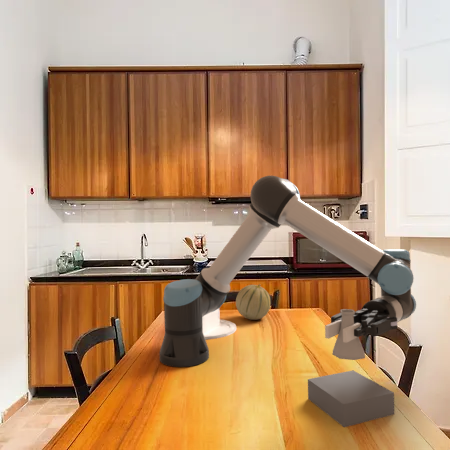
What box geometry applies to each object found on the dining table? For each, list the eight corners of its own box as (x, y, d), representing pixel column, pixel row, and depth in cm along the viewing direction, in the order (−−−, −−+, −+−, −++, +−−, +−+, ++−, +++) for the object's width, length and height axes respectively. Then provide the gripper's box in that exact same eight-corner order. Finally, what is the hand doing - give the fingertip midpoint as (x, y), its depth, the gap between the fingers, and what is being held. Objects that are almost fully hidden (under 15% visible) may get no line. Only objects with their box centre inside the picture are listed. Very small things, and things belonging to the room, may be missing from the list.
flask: (370, 361, 79) (369, 314, 79) (336, 361, 79) (335, 315, 79) (359, 349, 87) (358, 306, 86) (328, 350, 87) (327, 307, 87)
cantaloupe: (235, 315, 166) (234, 281, 165) (267, 314, 166) (266, 280, 166) (238, 324, 151) (237, 287, 151) (274, 323, 152) (273, 286, 152)
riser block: (344, 429, 75) (343, 404, 75) (308, 400, 87) (307, 379, 87) (394, 415, 79) (394, 392, 79) (353, 390, 91) (353, 370, 91)
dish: (180, 321, 159) (179, 295, 159) (238, 322, 156) (238, 295, 156) (164, 339, 134) (163, 308, 134) (233, 340, 131) (232, 309, 131)
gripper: (416, 333, 90) (374, 361, 73) (351, 322, 101) (302, 343, 85) (415, 302, 90) (373, 323, 73) (350, 294, 101) (302, 310, 85)
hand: (335, 333), depth 79 cm, fingers closed on flask, 3 cm apart
